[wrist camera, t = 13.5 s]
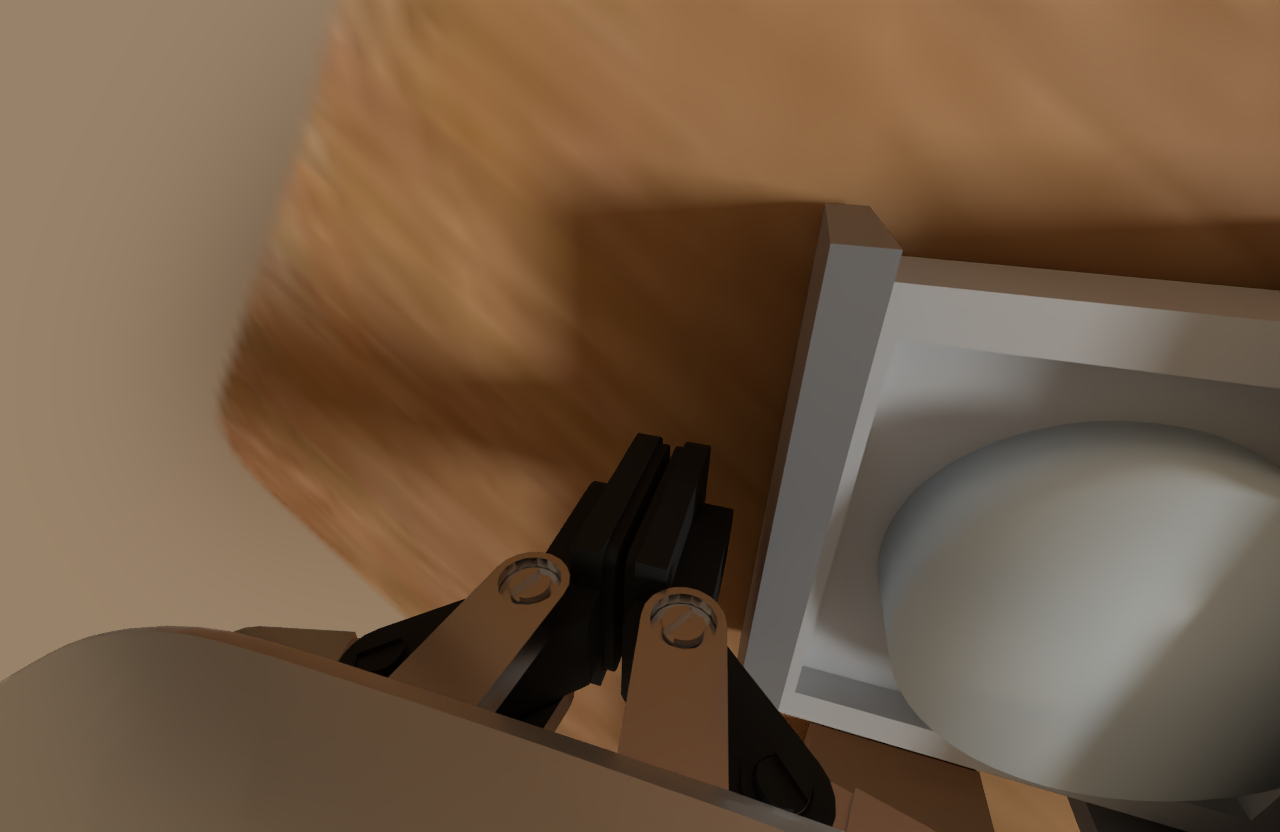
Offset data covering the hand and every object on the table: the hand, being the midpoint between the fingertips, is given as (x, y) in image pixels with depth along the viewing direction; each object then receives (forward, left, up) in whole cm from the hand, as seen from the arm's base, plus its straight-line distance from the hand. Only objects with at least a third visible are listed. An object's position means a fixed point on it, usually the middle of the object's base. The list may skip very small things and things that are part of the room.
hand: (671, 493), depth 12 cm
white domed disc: (0, -8, 0) cm, 8 cm away
